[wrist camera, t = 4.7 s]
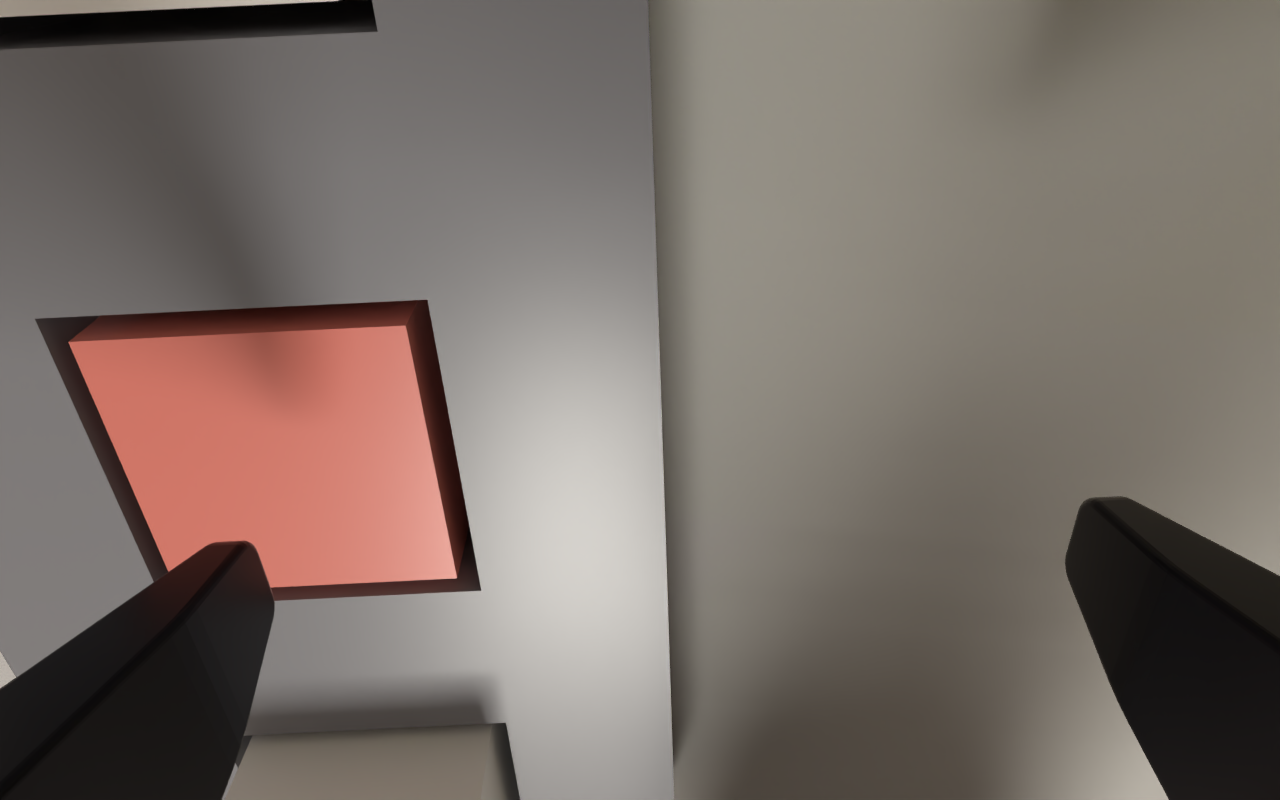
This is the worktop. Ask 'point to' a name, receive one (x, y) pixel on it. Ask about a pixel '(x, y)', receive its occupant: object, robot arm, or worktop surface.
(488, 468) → the button panel
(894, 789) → the worktop surface
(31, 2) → the button
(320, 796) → the button
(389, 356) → the red button
